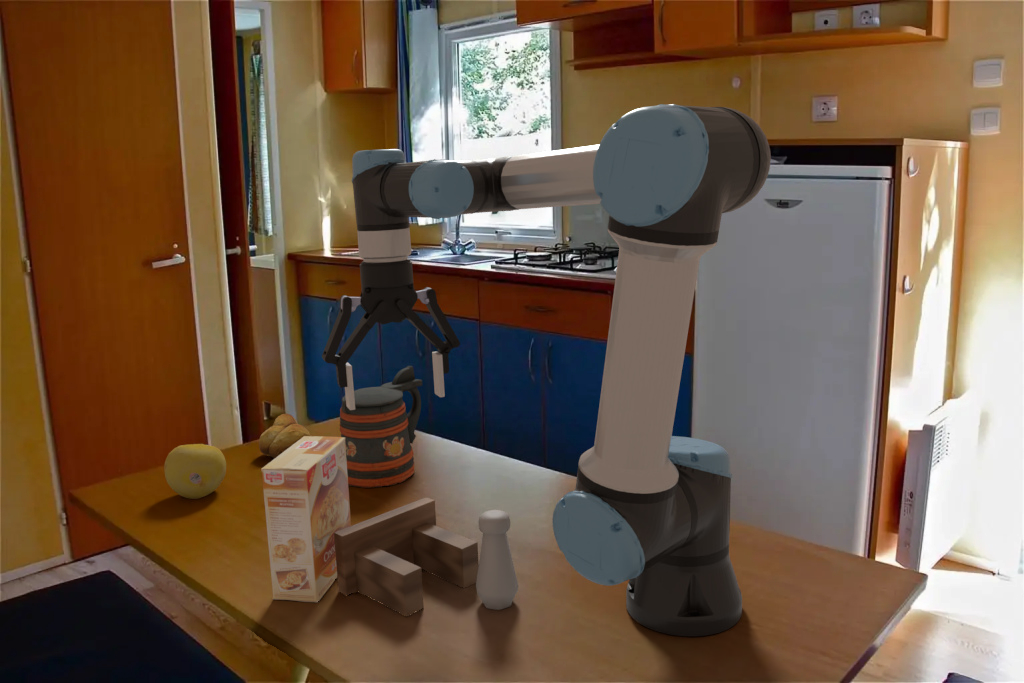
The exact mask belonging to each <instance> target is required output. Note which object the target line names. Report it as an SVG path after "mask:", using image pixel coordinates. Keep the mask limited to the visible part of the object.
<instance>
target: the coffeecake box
mask: <svg viewBox="0 0 1024 683" xmlns="http://www.w3.org/2000/svg"><path fill="white" fill-rule="evenodd" d="M260 470H261V476H262V487H263V490H262V491H263V499H264V508H265V509H264V510H265V511H264V512H265V522H266V532H267V543H268V554H269V566H270V576H271V578H270V579H271V588H272V600H281V601H296V602H304V603H319V602H320V600H321V599H322V598H323V596H324V595H325V594H326V592H327V591H328V590H329V589H330V587H331V586H332V585H333V583H334V582H335V581H336V580H335V579H338V578H337V565H336V553H335V540H334V532H337V531H339V530H342V529H345V528H347V527H350V526H352V523H351V522H352V520H351V508H350V507H351V506H350V492H349V491H350V490H349V485H348V474H347V460H346V446H345V437H341V436H322V435H321V436H319V435H318V436H314V435H313V436H312V435H311V436H303V437H302V438H301V439H300V440H299V441H297V442H296V443H295V444H293V445H292V446H291V447H289V448H288V449H287V450H285V451H284V452H283V453H281V454H280V455H279V456H277V457H276V458H273V459H271V461H269V462H268V463H267V464H265V465H264V466H263V467H261V469H260ZM318 601H319V602H318Z"/></svg>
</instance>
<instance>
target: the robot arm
mask: <svg viewBox="0 0 1024 683" xmlns="http://www.w3.org/2000/svg"><path fill="white" fill-rule="evenodd" d="M771 158H772V156H771V148H770V144H769V142H768V139H767V135H766V134H765V132H764V131H763V129H762V128H761V126H760V125H759V123H757V122H756V120H754V119H753V117H750V116H749V115H748V114H747V113H743V112H741V111H740V110H738V109H736V108H735V109H734V108H731V107H726V106H724V107H723V106H697V105H693V106H692V105H679V104H675V103H672V104H671V103H670V104H664V103H661V104H658V105H651V106H642V107H640V108H639V107H638V108H635V109H633V110H631V111H629V112H627V113H625V114H623V115H622V116H621V117H620V118H619V119H618V120H617V121H616V122H615V123H613V124H612V125H611V126H610V127H609V128H608V130H607V131H606V132H605V133H604V135H603V137H602V138H601V140H600V143H599V144H593V145H586V146H579V147H578V146H577V147H572V148H571V147H570V148H564V149H556V150H549V151H541V152H533V153H528V154H527V153H526V154H520V155H514V156H513V155H510V156H504V157H494V158H483V159H453V160H452V159H451V160H450V159H443V158H442V159H436V158H434V159H429V160H422V161H412V162H407V161H406V157H405V153H404V151H403V150H401V149H398V148H390V149H389V148H388V149H383V148H381V149H370V150H369V149H365V150H357V151H356V152H355V153H353V155H352V159H351V161H352V162H351V163H352V164H351V165H352V177H351V183H352V188H353V189H352V191H353V199H354V210H355V211H354V212H355V224H356V231H357V245H358V246H357V247H358V248H357V249H358V256H359V258H361V259H363V261H361V262H360V264H359V271H360V273H359V274H360V276H359V277H360V285H361V291H360V292H361V293H360V295H359V296H348V295H345V294H344V295H342V296H340V299H339V310H338V315H337V317H336V319H335V322H334V323H333V326H332V329H331V332H330V335H329V338H328V339H327V341H326V345H325V347H324V349H323V352H322V355H321V359H323V361H324V362H325V363H326V364H332V365H334V366H335V373H336V383H337V385H338V387H340V388H341V389H342V388H344V394H345V395H344V396H346V406H347V407H348V408H349V410H355V399H354V391H355V388H354V379H353V378H354V374H353V365H351V364H350V363H349V362H348V361H349V360H350V359H351V357H352V356H353V354H354V353H355V352H356V351H357V349H358V347H359V346H360V345H361V343H362V341H363V340H364V338H366V336H367V334H368V333H369V331H370V330H371V329H373V327H374V326H375V325H376V323H377V324H380V325H386V324H387V325H388V324H390V323H397V324H398V323H403V321H405V320H407V321H409V323H410V324H411V325H412V326H413V327H414V328H416V329H417V331H418V332H419V333H420V334H421V335H422V336H424V338H425V339H427V341H429V343H430V344H431V345H432V346H434V348H435V349H436V350H437V351H432V352H431V356H432V357H431V358H432V371H433V372H432V373H433V386H434V387H433V388H434V394H435V396H438V397H439V398H445V395H446V394H445V391H446V390H445V380H444V378H445V377H444V374H449V371H450V363H449V362H450V360H449V358H450V357H449V354H450V353H451V350H453V349H455V348H458V347H460V345H461V342H460V340H459V338H458V336H457V335H456V333H455V331H454V330H453V328H452V326H451V324H450V322H449V320H448V319H447V318H446V316H445V314H444V312H443V310H442V309H441V307H440V305H439V304H438V299H437V293H436V290H435V289H434V288H431V287H428V286H426V287H424V288H423V289H421V290H415V287H414V286H415V285H414V274H413V261H412V260H411V259H410V258H408V257H409V256H410V255H411V254H412V244H411V243H412V242H411V241H412V240H411V232H410V227H411V226H410V220H409V219H410V218H427V219H428V218H432V219H437V220H440V219H448V218H454V217H458V216H460V215H468V214H469V215H471V214H480V213H492V212H494V213H495V212H511V211H518V210H526V209H527V210H529V209H542V208H545V209H546V208H556V207H570V206H585V205H599V204H600V205H601V207H602V209H603V210H604V211H605V212H606V213H607V214H608V224H607V232H608V234H609V235H610V237H611V238H612V239H613V240H614V242H615V243H616V244H617V246H618V248H619V249H618V250H619V251H618V257H617V265H616V271H615V272H616V273H615V281H614V286H613V287H614V288H613V297H612V303H611V311H610V320H609V325H608V326H609V328H608V333H607V334H608V335H607V343H606V350H605V359H604V365H603V373H602V382H601V391H600V398H599V407H598V413H597V422H596V428H595V429H596V430H595V437H594V444H593V446H592V447H591V448H589V449H587V450H586V451H584V452H583V453H581V455H580V457H579V460H578V467H577V473H576V479H575V481H576V482H575V487H574V488H575V489H574V490H573V491H568V492H567V493H565V494H564V495H563V496H562V497H561V498H560V499H559V500H558V501H557V503H556V504H555V507H554V509H553V511H552V512H553V513H552V530H553V536H554V539H555V541H556V544H557V546H558V548H559V550H560V551H561V553H563V555H564V557H565V560H566V562H567V563H568V564H569V565H570V566H571V567H572V568H573V570H575V572H577V573H578V574H579V575H580V576H582V577H583V578H585V579H586V580H588V581H591V582H592V583H595V584H597V585H601V586H609V587H610V586H616V585H620V584H622V583H625V582H627V581H628V583H627V585H626V586H627V587H626V590H625V594H626V595H625V596H626V602H625V603H626V604H625V605H626V609H627V612H628V614H629V615H630V617H631V618H632V619H633V620H635V621H636V622H637V623H638V624H640V625H642V626H643V627H646V628H647V629H650V630H653V631H655V632H659V633H661V634H666V635H672V636H679V637H680V636H681V637H702V636H703V637H704V636H710V635H714V634H715V635H716V634H719V633H721V632H725V631H727V630H729V629H730V628H732V627H734V626H735V625H736V624H737V623H738V622H739V621H740V620H741V617H742V614H743V595H742V590H741V588H740V586H739V583H738V580H737V576H736V572H735V569H734V567H733V564H732V560H731V558H730V533H731V532H730V529H731V528H730V527H731V491H732V490H731V485H732V484H731V483H732V481H731V479H732V478H733V475H732V473H731V459H730V458H731V456H730V454H729V453H728V451H727V450H726V449H725V448H724V447H723V446H721V445H720V444H717V443H715V442H712V441H708V440H705V439H700V438H694V437H687V436H679V435H678V436H677V435H676V436H675V435H673V430H674V428H673V427H674V422H675V417H676V409H677V405H678V404H677V403H678V399H679V398H678V397H679V391H680V383H681V378H682V372H683V371H682V370H683V365H684V360H685V353H686V349H687V348H686V346H687V340H688V333H689V328H690V322H691V317H692V316H691V315H692V310H693V303H694V297H695V290H696V284H697V278H698V272H699V265H700V264H699V263H700V259H701V258H702V256H703V255H705V254H706V253H707V252H708V251H710V250H712V249H713V248H714V247H715V246H716V245H717V244H718V239H719V233H720V227H721V223H722V222H721V221H722V216H723V214H726V213H727V214H728V213H730V212H731V213H732V212H733V211H735V210H738V209H740V208H742V207H744V206H745V205H746V204H748V203H750V202H751V201H752V200H753V199H754V198H755V197H756V196H758V193H759V192H760V191H761V189H762V188H763V186H764V185H765V183H766V181H767V178H768V176H769V172H770V169H771V168H770V167H771ZM418 299H419V300H420V302H421V303H422V304H423V305H424V304H425V307H426V308H427V310H428V312H429V313H430V315H431V317H432V318H433V320H434V322H435V324H436V325H437V327H438V329H439V331H440V332H441V334H442V336H443V338H444V339H445V341H443V340H442V339H441V338H440V337H439V336H438V335H437V334H436V333H435V332H434V331H433V330H432V329H431V328H430V326H428V325H427V324H426V323H425V321H424V320H423V319H421V317H420V316H419V315H418V314H417V313H416V312H415V311H414V310H413V308H414V306H415V304H416V303H417V302H418ZM358 306H360V307H361V308H362V309H363V310H364V312H365V313H364V314H363V315H362V317H361V318H360V320H359V322H358V324H357V326H355V328H354V330H353V332H352V333H351V334H350V335H349V337H348V338H347V340H346V341H345V343H344V344H343V345H342V347H341V348H340V344H341V341H342V340H343V336H344V334H345V332H346V329H347V327H348V325H349V322H350V319H351V316H352V313H353V312H355V311H356V309H357V307H358ZM339 348H340V350H339V351H338V349H339Z"/></svg>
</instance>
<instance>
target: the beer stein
mask: <svg viewBox="0 0 1024 683" xmlns="http://www.w3.org/2000/svg"><path fill="white" fill-rule="evenodd" d="M422 386H423V380H422V379H420V378H419V379H418V378H416V375H415V370H414V367H413V366H412V365H407V366H406V367H404V368H402V369H399V371H397V373H396V375H395V376H394V378H393V380H392V381H390V382H386V383H383V384H381V385H380V386H371V387H363V388H358V389H354V399H355V410H349V408H348V407H347V406H346V396H345V395H344V396H342V398H341V402H342V403H341V407H340V409H339V412H340V413H339V432H340V437H345V446H346V460H347V474H348V486H350V487H356V488H366V489H367V488H370V489H374V487H376V488H380V487H381V488H383V487H382V486H387V487H390V486H394V485H393V484H395V485H398V484H397V483H399V484H401V483H403V481H404V482H405V481H406V480H407V479H409V478H410V477H411V476H412V475H414V473H415V470H416V469H415V461H414V460H415V459H414V455H415V454H414V451H413V446H412V445H411V444H413V443H414V442H415V439H416V438H417V435H416V434H415V430H416V427H417V425H418V421H419V420H420V415H421V409H422V399H421V394H420V391H419V389H418V387H422ZM405 392H409V393H410V394H411V397H412V405H411V408H410V411H409V412H408V413H407V410H406V408H407V407H406V403H405V401H404V400H403V396H404V394H403V393H405ZM389 485H390V486H389ZM371 487H373V488H371Z"/></svg>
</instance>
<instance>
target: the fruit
mask: <svg viewBox="0 0 1024 683" xmlns="http://www.w3.org/2000/svg"><path fill="white" fill-rule="evenodd" d="M163 466H164V477H165V479H166V482H167V484H168V485H169V487H170V488H171V490H173V492H175V493H177V494H178V495H179V496H181V497H183V498H186V499H189V500H191V499H192V500H193V499H201V498H203V497H205V496H209V495H210V494H212V493H213V492H215V490H217V488H219V487H220V485H221V483H222V482H223V481H224V478H225V475H226V471H227V462H226V458H225V455H224V454H223V452H222V450H220V449H219V448H218V447H216V446H215V445H210V444H204V443H193V444H192V443H191V444H189V443H188V444H183V445H182V444H181V445H178V446H177V447H174V448H173V449H172V450H170V452H168V454H167V456H166V458H165V461H164V465H163Z"/></svg>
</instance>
